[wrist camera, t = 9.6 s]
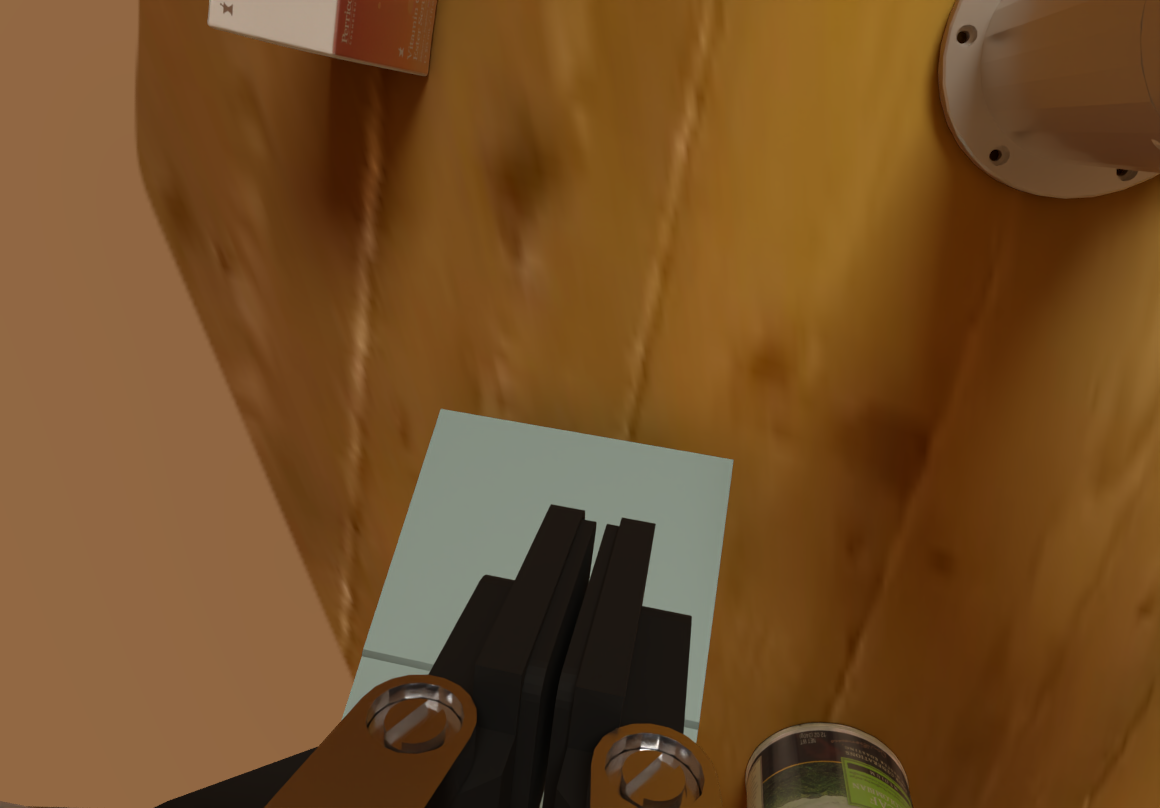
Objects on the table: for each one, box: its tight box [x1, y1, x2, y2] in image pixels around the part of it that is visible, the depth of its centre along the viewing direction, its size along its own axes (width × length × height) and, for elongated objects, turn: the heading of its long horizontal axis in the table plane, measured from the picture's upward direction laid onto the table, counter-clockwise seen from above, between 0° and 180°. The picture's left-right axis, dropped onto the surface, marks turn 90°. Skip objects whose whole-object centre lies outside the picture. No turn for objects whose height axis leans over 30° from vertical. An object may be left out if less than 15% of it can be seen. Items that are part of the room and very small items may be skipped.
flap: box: [341, 409, 733, 808], centre depth 36 cm, size 16×27×1 cm
